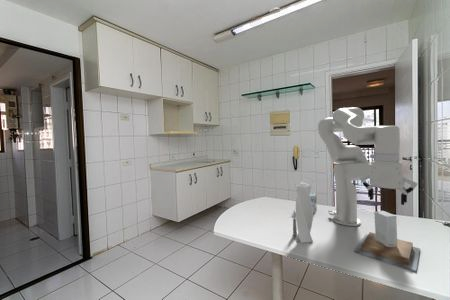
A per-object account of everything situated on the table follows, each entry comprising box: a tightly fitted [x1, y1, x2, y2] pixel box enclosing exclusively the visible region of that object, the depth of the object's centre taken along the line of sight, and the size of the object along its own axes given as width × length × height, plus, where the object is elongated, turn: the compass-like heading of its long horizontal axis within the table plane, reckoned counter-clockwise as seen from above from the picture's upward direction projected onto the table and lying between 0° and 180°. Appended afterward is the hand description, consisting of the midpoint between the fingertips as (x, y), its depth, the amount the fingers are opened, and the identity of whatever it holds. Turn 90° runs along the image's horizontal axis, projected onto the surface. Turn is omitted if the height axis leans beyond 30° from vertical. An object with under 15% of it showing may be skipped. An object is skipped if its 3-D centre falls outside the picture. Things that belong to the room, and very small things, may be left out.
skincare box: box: [374, 210, 398, 247], centre depth 80 cm, size 6×4×12 cm
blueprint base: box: [353, 231, 421, 273], centre depth 80 cm, size 18×18×3 cm
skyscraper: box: [292, 178, 314, 244], centre depth 92 cm, size 8×8×28 cm
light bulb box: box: [310, 192, 318, 214], centre depth 127 cm, size 11×7×11 cm, turn 58°
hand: (386, 201), depth 79 cm, fingers open, 9 cm apart
